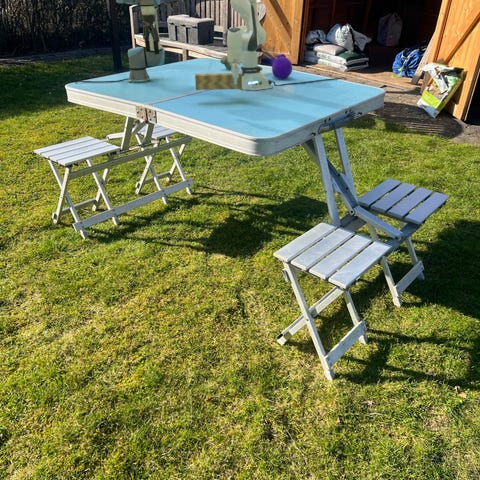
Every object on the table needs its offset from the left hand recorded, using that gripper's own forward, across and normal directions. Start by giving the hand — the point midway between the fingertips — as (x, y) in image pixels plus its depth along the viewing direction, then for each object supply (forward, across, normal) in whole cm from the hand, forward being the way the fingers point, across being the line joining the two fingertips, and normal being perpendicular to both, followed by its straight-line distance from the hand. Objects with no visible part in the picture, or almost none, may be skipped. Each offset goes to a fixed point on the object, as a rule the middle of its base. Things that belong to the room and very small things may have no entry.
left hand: (152, 53), depth 276 cm
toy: (+27, +7, -102) cm, 105 cm away
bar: (+19, -36, -26) cm, 48 cm away
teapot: (+27, +59, -93) cm, 113 cm away
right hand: (+16, -40, -35) cm, 55 cm away
